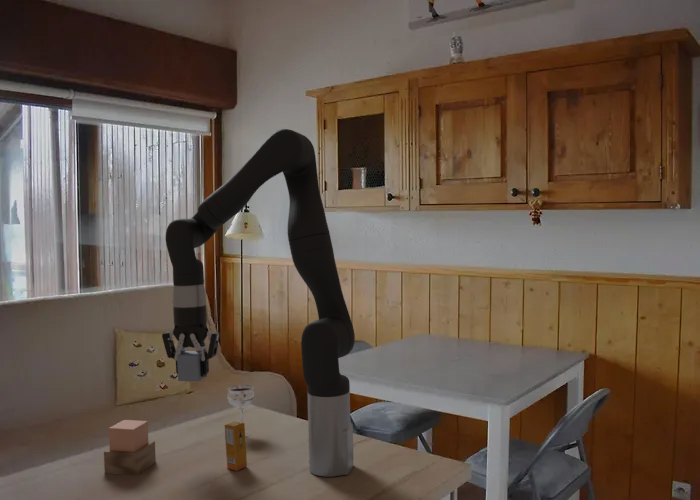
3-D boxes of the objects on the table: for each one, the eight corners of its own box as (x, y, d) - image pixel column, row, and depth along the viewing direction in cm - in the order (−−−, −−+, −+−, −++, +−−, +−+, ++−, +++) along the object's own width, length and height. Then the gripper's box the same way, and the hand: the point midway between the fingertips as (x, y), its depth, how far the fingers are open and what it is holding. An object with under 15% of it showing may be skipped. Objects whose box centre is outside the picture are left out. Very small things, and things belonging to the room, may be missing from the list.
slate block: (207, 376, 157) (206, 351, 156) (198, 381, 152) (197, 355, 151) (187, 375, 158) (186, 351, 157) (178, 381, 153) (177, 355, 152)
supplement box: (236, 463, 149) (235, 420, 148) (247, 467, 146) (246, 422, 146) (225, 468, 146) (224, 423, 145) (236, 471, 144) (234, 426, 143)
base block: (155, 462, 151) (154, 441, 151) (138, 476, 143) (137, 453, 143) (123, 460, 153) (122, 439, 152) (104, 474, 145) (103, 451, 145)
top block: (148, 442, 150) (147, 421, 150) (134, 451, 144) (133, 429, 144) (124, 441, 151) (123, 419, 151) (109, 450, 145) (108, 428, 145)
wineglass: (223, 436, 167) (222, 390, 167) (237, 428, 173) (235, 383, 173) (247, 439, 165) (245, 392, 164) (259, 431, 171) (258, 385, 171)
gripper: (224, 301, 156) (227, 372, 157) (168, 302, 159) (171, 371, 160) (212, 305, 149) (215, 380, 150) (153, 306, 152) (156, 379, 152)
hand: (192, 375), depth 155 cm, fingers closed on slate block, 5 cm apart
